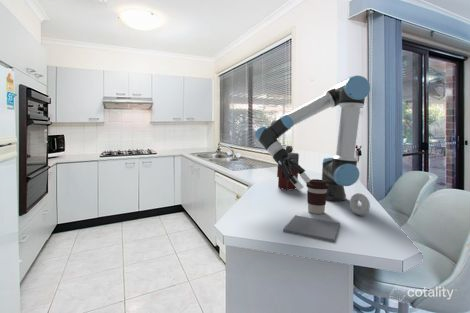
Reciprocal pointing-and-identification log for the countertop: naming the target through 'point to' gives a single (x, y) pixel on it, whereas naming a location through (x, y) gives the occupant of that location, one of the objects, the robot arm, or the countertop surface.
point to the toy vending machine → (282, 180)
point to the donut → (364, 202)
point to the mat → (313, 228)
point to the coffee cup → (316, 196)
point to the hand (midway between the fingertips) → (306, 186)
